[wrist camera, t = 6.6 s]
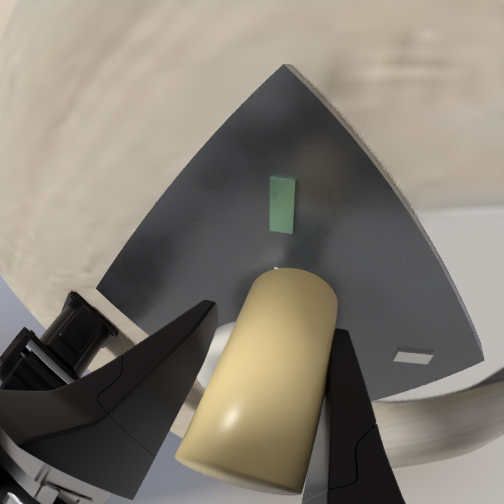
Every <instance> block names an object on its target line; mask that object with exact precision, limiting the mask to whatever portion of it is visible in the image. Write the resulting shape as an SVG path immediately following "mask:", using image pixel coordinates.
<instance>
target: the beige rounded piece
mask: <svg viewBox="0 0 504 504" xmlns="http://www.w3.org/2000/svg"><path fill="white" fill-rule="evenodd" d="M337 309H338V302H337V297H336V295H335V293H334V291H333V289H332V288H331V287H330V286H329V285H328V284H327V283H326V282H325V281H324V280H323V279H321V278H320V277H318V276H317V275H315V274H312V273H310V272H307V271H305V270H301V269H295V268H277V267H275V268H274V269H273V270H270V271H267V272H265V273H263V274H262V275H260V276H259V277H258V278H257V279H256V280H255V281H254V283H253V284H252V286H251V289H250V291H249V293H248V296H247V298H246V300H245V302H244V305H243V307H242V309H241V311H240V314H239V316H238V318H237V321H236V322H231V323H228V324H225V325H222V326H220V327H219V328H217V329H216V332H215V334H214V337H213V340H212V343H211V345H210V348H209V351H208V354H207V356H206V359H205V362H204V364H203V366H202V368H201V370H200V372H199V374H198V376H197V379H198V381H199V382H200V384H201V385H202V386H203V388H204V389H205V392H204V394H203V396H202V399H201V401H200V403H199V405H198V407H197V409H196V412H195V414H194V416H193V418H192V420H191V423H190V425H189V427H188V429H187V431H186V433H185V436H184V438H183V440H182V442H181V444H180V446H179V449H178V451H177V453H176V455H175V458H176V459H177V460H178V461H179V462H181V463H182V464H184V465H185V466H187V467H189V468H191V469H193V470H195V471H197V472H199V473H202V474H204V475H206V476H209V477H211V478H214V479H217V480H219V481H222V482H225V483H228V484H231V485H235V486H239V487H242V488H246V489H250V490H255V491H259V492H265V493H271V494H279V495H299V494H301V493H302V490H303V486H304V482H305V479H306V475H307V471H308V467H309V463H310V459H311V455H312V451H313V447H314V443H315V439H316V434H317V430H318V425H319V420H320V415H321V411H322V406H323V400H324V395H325V390H326V384H327V377H328V369H329V362H330V356H331V350H332V344H333V338H334V331H335V325H336V318H337Z"/></svg>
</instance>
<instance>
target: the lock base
mask: <svg viewBox="0 0 504 504" xmlns="http://www.w3.org/2000/svg"><path fill="white" fill-rule="evenodd" d="M275 267H277V268H295V269H301V270H305V271H307V272H310V273H312V274H315V275H317V276H318V277H320V278H321V279H323V280H324V281H325V282H326V283H327V284H328V285H329V286H330V287H331V288H332V289H333V291H334V293H335V295H336V297H337V302H338V309H337V318H336V325H335V329H336V328H340V329H346V330H348V332H349V334H350V337H351V340H352V343H353V346H354V349H355V352H356V355H357V358H358V361H359V365H360V368H361V371H362V374H363V377H364V381H365V384H366V387H367V391H368V394H369V397H370V401H374V400H377V399H381V398H384V397H388V396H391V395H394V394H398V393H401V392H405V391H408V390H410V389H414V388H417V387H420V386H422V385H426V384H428V383H431V382H433V381H437V380H439V379H442V378H444V377H447V376H450V375H452V374H454V373H457V372H459V371H462V370H464V369H466V368H469V367H471V366H473V365H476V364H478V363H480V362H482V361H484V356H483V351H482V347H481V343H480V340H479V338H478V335H477V333H476V330H475V328H474V325H473V323H472V321H471V318H470V316H469V314H468V312H467V309H466V307H465V305H464V303H463V301H462V298H461V297H460V295H459V292H458V291H457V288H456V286H455V284H454V282H453V280H452V278H451V276H450V274H449V272H448V270H447V269H446V267H445V265H444V263H443V261H442V259H441V257H440V256H439V254H438V252H437V250H436V248H435V247H434V245H433V243H432V241H431V240H430V238H429V236H428V235H427V233H426V231H425V230H424V228H423V226H422V225H421V223H420V222H419V220H418V218H417V217H416V215H415V214H414V212H413V211H412V209H411V208H410V206H409V204H408V203H407V201H406V200H405V199H404V197H403V196H402V194H401V193H400V191H399V190H398V188H397V187H396V185H395V184H394V183H393V181H392V180H391V178H390V177H389V176H388V174H387V173H386V172H385V170H384V169H383V167H382V166H381V165H380V163H379V162H378V161H377V160H376V158H375V157H374V156H373V154H372V153H371V152H370V151H369V149H368V148H367V147H366V145H365V144H364V143H363V142H362V141H361V139H360V138H359V137H358V136H357V134H356V133H355V132H354V131H353V130H352V128H351V127H350V126H349V125H348V124H347V123H346V121H345V120H344V119H343V118H342V117H341V116H340V115H339V113H338V112H337V111H336V110H335V109H334V108H333V107H332V106H331V105H330V104H329V102H328V101H327V100H326V99H325V98H324V97H323V96H322V95H321V94H320V93H319V92H318V91H317V90H316V89H315V88H314V87H313V86H312V85H311V84H310V83H309V82H308V81H307V80H306V79H305V78H304V77H303V76H302V75H301V74H300V73H299V72H298V71H297V70H296V69H295V68H294V67H293V66H292V65H291V64H283V65H282V66H281V67H280V68H279V69H278V70H277V71H276V72H275V73H274V74H272V75H271V76H270V77H269V78H268V79H267V80H266V81H265V82H264V83H263V84H262V85H261V86H260V87H259V88H258V89H257V90H256V91H255V92H254V93H253V94H252V95H251V96H250V97H249V98H248V99H247V100H246V101H245V102H244V103H243V104H242V105H241V106H240V107H239V108H238V109H237V110H236V111H235V112H234V113H233V114H232V115H231V116H230V117H229V118H228V119H227V121H226V122H225V123H224V124H223V125H222V126H221V127H220V128H219V129H218V130H217V131H216V132H215V133H214V135H213V136H212V137H211V138H210V139H209V140H208V141H207V142H206V143H205V145H204V146H203V147H202V148H201V149H200V150H199V151H198V153H197V154H196V155H195V156H194V157H193V158H192V160H191V161H190V162H189V163H188V164H187V165H186V167H185V168H184V169H183V170H182V171H181V173H180V174H179V175H178V176H177V177H176V179H175V180H174V181H173V182H172V184H171V185H170V186H169V187H168V188H167V190H166V191H165V192H164V194H163V195H162V196H161V197H160V199H159V200H158V201H157V202H156V204H155V205H154V206H153V208H152V209H151V210H150V212H149V213H148V214H147V216H146V217H145V218H144V220H143V221H142V222H141V224H140V225H139V226H138V228H137V229H136V230H135V232H134V233H133V234H132V236H131V237H130V239H129V240H128V241H127V243H126V244H125V246H124V247H123V249H122V250H121V251H120V253H119V254H118V256H117V257H116V259H115V260H114V262H113V263H112V265H111V266H110V268H109V269H108V271H107V272H106V274H105V275H104V277H103V278H102V280H101V281H100V283H99V284H98V286H97V288H96V289H97V290H98V291H99V292H100V293H101V294H102V295H103V296H104V297H105V298H106V299H108V300H109V301H110V302H111V303H112V304H113V305H114V306H115V307H116V308H118V309H119V310H120V311H121V312H122V313H123V314H124V315H125V316H127V317H128V318H129V319H130V320H131V321H132V322H134V323H135V324H136V325H137V326H138V327H140V328H141V329H142V330H143V331H144V332H146V333H147V334H148V335H149V336H150V335H152V334H153V333H155V332H156V331H158V330H159V329H161V328H162V327H164V326H165V325H167V324H168V323H170V322H171V321H173V320H174V319H176V318H177V317H179V316H180V315H182V314H183V313H185V312H186V311H188V310H189V309H191V308H192V307H194V306H195V305H197V304H198V303H200V302H201V301H203V300H210V301H214V302H216V303H217V307H218V314H219V323H218V326H217V328H219V327H220V326H222V325H225V324H228V323H231V322H236V321H237V318H238V316H239V314H240V311H241V309H242V307H243V305H244V302H245V300H246V298H247V296H248V293H249V291H250V289H251V286H252V284H253V283H254V281H255V280H256V279H257V278H258V277H259V276H260V275H262V274H263V273H265V272H267V271H270V270H273V269H274V268H275Z"/></svg>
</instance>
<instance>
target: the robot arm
mask: <svg viewBox="0 0 504 504" xmlns="http://www.w3.org/2000/svg"><path fill="white" fill-rule="evenodd" d="M218 323H219V314H218V307H217V303H216V302H214V301H210V300H203V301H201V302H200V303H198V304H197V305H195V306H194V307H192V308H191V309H189V310H188V311H186V312H185V313H183V314H182V315H180V316H179V317H177V318H176V319H174V320H173V321H171V322H170V323H168V324H167V325H165V326H164V327H162V328H161V329H159V330H158V331H156V332H155V333H153V334H152V335H150V336H149V337H147V338H146V339H144V340H143V341H141V342H140V343H138V344H137V345H135V346H134V347H132V348H131V349H129V350H128V351H126V352H125V353H124V355H123V354H121V355H120V356H118V357H117V358H115V359H114V360H112V361H111V362H109V363H107V364H106V365H104V366H102V367H101V368H99V369H97V370H95V371H93V372H92V373H90V374H88V375H86V376H84V377H82V378H81V376H82V375H83V373H84V372H85V370H86V369H87V367H88V366H89V364H90V363H91V362H92V360H93V359H94V357H95V356H96V354H97V353H98V351H99V350H100V349H101V348H104V347H105V346H106V345H107V344H108V343H110V342H111V341H112V340H113V339H115V338H116V337H117V335H118V332H117V331H116V330H115V329H114V328H112V327H111V326H110V325H109V324H108V323H107V322H106V321H104V320H103V319H102V318H101V317H100V316H99V315H98V314H97V313H96V312H94V311H93V310H92V309H91V308H90V307H89V306H88V305H87V304H86V303H85V302H84V301H83V300H82V299H81V298H80V297H79V296H78V295H76V294H75V293H74V292H73V291H71V292H70V293H69V294H68V296H67V299H66V301H65V304H64V306H63V309H62V312H61V313H60V315H59V316H58V317H57V318H56V319H55V321H54V322H53V323H52V324H51V325H50V327H49V328H48V329H47V330H46V332H45V333H44V334H43V335H42V337H41V338H40V339H38V338H37V337H36V335H35V333H34V332H33V331H32V330H31V331H29V330H28V329H27V328H25V327H24V328H23V329H22V330H21V332H20V333H19V334H18V335H17V336H16V337H15V339H14V340H13V341H12V343H11V344H10V345H9V346H8V348H7V349H6V350H5V352H4V353H3V354H2V356H1V357H0V380H1V381H0V504H105V502H106V500H107V498H108V496H109V494H110V493H113V494H116V495H118V496H121V497H124V498H127V499H131V500H133V499H134V497H135V495H136V493H137V491H138V489H139V488H140V486H141V484H142V481H143V480H144V478H145V476H146V474H147V472H148V470H149V469H150V467H151V465H152V463H153V461H154V459H155V456H156V455H157V453H158V451H159V449H160V447H161V445H162V443H163V441H164V440H165V438H166V436H167V434H168V432H169V430H170V428H171V426H172V424H173V422H174V420H175V418H176V416H177V415H178V413H179V411H180V409H181V407H182V405H183V403H184V401H185V399H186V397H187V395H188V393H189V391H190V389H191V387H192V385H193V383H194V382H195V380H196V378H197V376H198V374H199V372H200V370H201V368H202V366H203V364H204V362H205V359H206V356H207V354H208V351H209V348H210V345H211V343H212V340H213V337H214V334H215V332H216V329H217V326H218ZM27 344H28V345H29V346H30V347H31V348H32V349H33V351H34V352H35V353H37V355H38V356H39V357H41V359H42V360H44V361H45V362H46V363H47V364H48V365H49V366H50V367H51V368H52V369H53V370H54V371H55V372H56V373H57V374H59V375H60V376H61V377H62V378H63V379H64V380H65V381H66V382H67V383H69V384H67V383H66V382H65V381H64V380H63V379H61V378H60V377H59V376H58V375H57V374H56V373H55V372H54V371H53V370H51V369H50V368H49V367H48V366H47V365H46V364H45V363H44V362H43V361H42V360H41V359H40V358H39V357H38V356H37V355H36V354H35V353H34V352H33V351H32V350H31V351H29V350H28V349H27V348H26V347H25V346H26V345H27ZM302 504H406V503H405V501H404V499H403V497H402V494H401V492H400V489H399V487H398V484H397V481H396V479H395V476H394V474H393V471H392V468H391V466H390V463H389V461H388V458H387V455H386V452H385V450H384V446H383V443H382V440H381V436H380V433H379V429H378V425H377V424H376V418H375V415H374V411H373V408H372V404H371V401H370V397H369V394H368V391H367V387H366V384H365V381H364V377H363V374H362V371H361V368H360V365H359V361H358V358H357V355H356V352H355V349H354V346H353V343H352V340H351V337H350V334H349V332H348V330H346V329H340V328H336V329H335V331H334V338H333V344H332V350H331V356H330V362H329V369H328V377H327V384H326V390H325V395H324V400H323V406H322V411H321V415H320V420H319V425H318V430H317V434H316V439H315V443H314V447H313V451H312V455H311V459H310V463H309V468H308V473H307V479H306V484H305V490H304V494H303V499H302Z"/></svg>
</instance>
